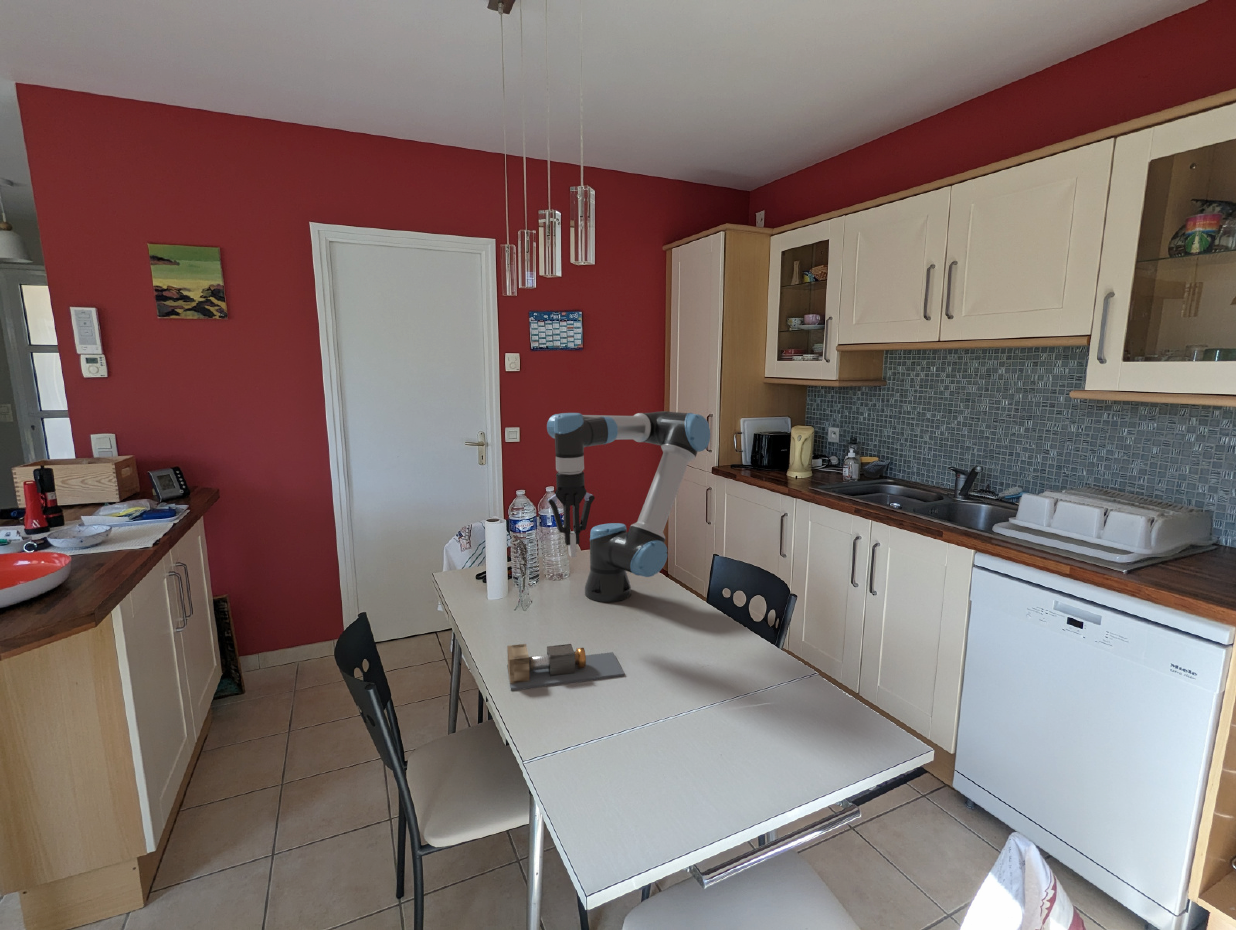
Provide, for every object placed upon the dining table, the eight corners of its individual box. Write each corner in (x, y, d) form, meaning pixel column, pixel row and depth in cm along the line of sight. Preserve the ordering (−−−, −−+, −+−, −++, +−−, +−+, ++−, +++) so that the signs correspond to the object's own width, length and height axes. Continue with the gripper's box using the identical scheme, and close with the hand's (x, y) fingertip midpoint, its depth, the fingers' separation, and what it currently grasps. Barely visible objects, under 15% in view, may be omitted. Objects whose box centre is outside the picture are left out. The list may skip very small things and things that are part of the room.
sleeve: (571, 662, 146) (571, 643, 145) (575, 673, 141) (574, 653, 141) (547, 665, 145) (546, 646, 144) (550, 676, 140) (549, 656, 139)
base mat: (613, 654, 152) (613, 652, 152) (624, 675, 142) (624, 673, 142) (507, 666, 145) (507, 664, 145) (510, 690, 135) (510, 688, 135)
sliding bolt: (582, 661, 147) (582, 644, 146) (585, 670, 142) (585, 652, 142) (515, 669, 143) (515, 651, 142) (517, 679, 138) (517, 661, 137)
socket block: (526, 666, 144) (525, 643, 143) (529, 681, 138) (529, 657, 137) (507, 668, 143) (507, 645, 142) (510, 683, 137) (509, 659, 136)
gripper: (589, 467, 162) (591, 548, 167) (543, 470, 158) (546, 554, 163) (597, 472, 155) (599, 557, 160) (548, 476, 151) (552, 563, 156)
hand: (572, 555), depth 161 cm, fingers closed
